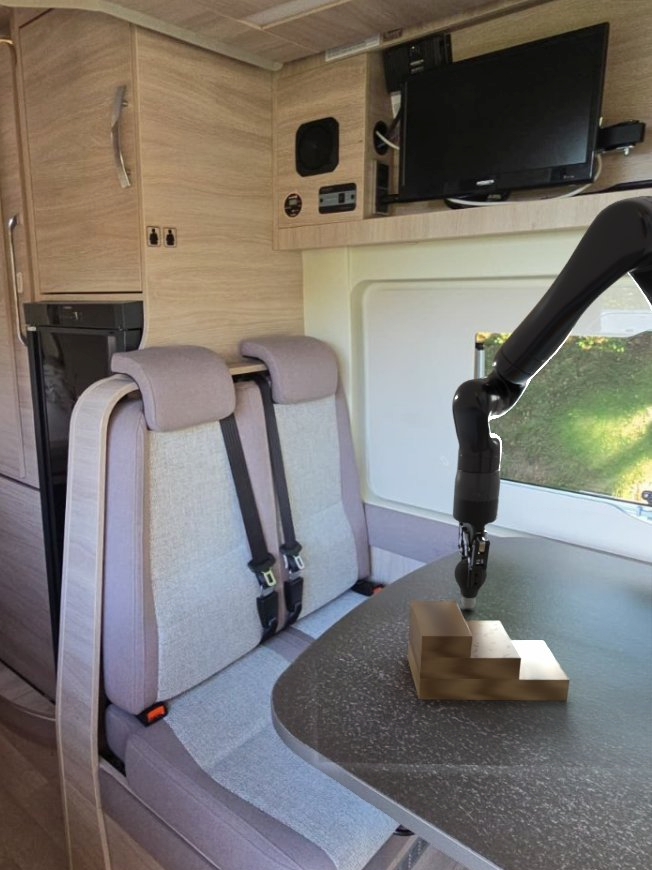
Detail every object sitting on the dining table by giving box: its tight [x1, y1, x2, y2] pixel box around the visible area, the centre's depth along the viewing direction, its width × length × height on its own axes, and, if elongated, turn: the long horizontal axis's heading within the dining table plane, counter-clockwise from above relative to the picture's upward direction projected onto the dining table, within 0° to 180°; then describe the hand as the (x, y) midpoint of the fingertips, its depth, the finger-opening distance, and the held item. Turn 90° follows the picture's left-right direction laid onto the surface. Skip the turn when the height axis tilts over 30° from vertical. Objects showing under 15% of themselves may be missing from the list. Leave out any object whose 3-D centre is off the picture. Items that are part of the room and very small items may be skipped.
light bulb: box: [454, 558, 488, 611], centre depth 132 cm, size 6×6×10 cm
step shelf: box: [407, 600, 570, 702], centre depth 109 cm, size 21×12×10 cm, turn 85°
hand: (469, 581), depth 132 cm, fingers closed on light bulb, 5 cm apart
